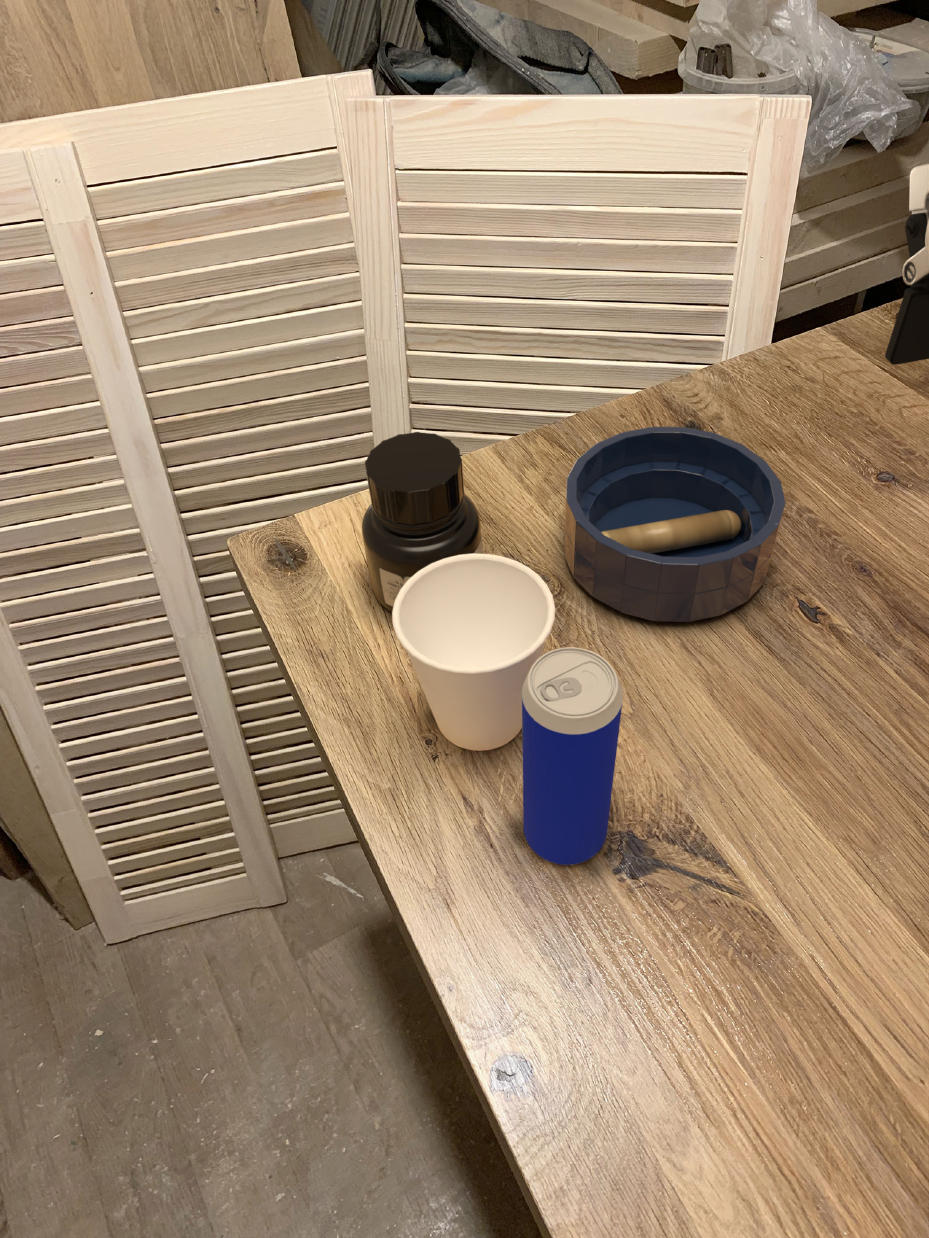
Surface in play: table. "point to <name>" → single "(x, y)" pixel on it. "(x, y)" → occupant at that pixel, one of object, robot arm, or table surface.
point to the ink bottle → (415, 510)
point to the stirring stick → (679, 532)
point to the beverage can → (569, 753)
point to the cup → (474, 642)
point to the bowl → (662, 490)
